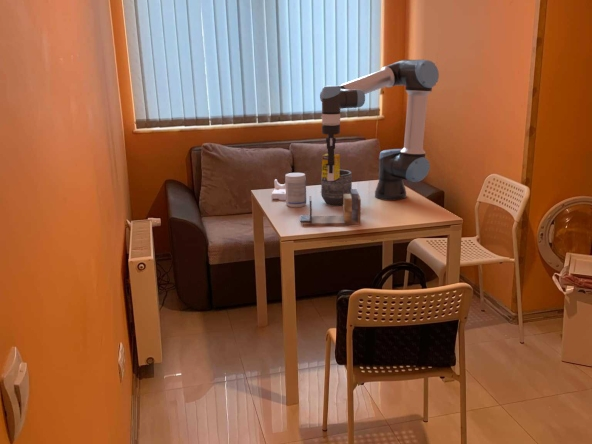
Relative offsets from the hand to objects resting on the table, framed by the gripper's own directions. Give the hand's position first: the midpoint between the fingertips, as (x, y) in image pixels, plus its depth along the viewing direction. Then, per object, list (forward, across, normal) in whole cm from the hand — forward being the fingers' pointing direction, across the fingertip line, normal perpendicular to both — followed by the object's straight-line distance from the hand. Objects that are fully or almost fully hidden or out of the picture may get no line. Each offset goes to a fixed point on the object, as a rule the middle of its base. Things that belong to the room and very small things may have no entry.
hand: (330, 178), depth 250 cm
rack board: (+18, +5, 0) cm, 18 cm away
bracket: (+18, -39, -24) cm, 49 cm away
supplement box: (+1, 0, 0) cm, 1 cm away
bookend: (+16, +5, -10) cm, 20 cm away
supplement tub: (+18, -23, -16) cm, 33 cm away
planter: (+18, -25, +3) cm, 31 cm away
